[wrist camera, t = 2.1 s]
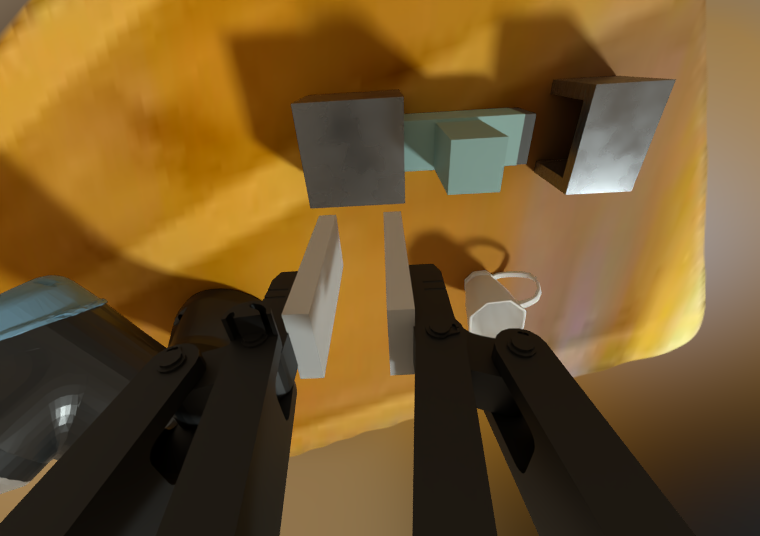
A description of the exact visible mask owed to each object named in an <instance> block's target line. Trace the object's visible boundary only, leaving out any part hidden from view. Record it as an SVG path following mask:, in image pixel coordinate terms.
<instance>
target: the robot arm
mask: <svg viewBox="0 0 760 536" xmlns="http://www.w3.org/2000/svg"><path fill="white" fill-rule="evenodd" d="M384 238H385V267H386V296H387V319H388V337H389V355H390V373H391V375H407V374H414V372H415V409H414V475H413V536H497V531H496V525H495V518H494V512H493V506H492V500H491V494H490V487H489V481H488V475H487V469H486V463H485V457H484V451H483V444H482V438H481V433H480V426H479V420H478V413H477V408H478V409H482V410H484V412H485V415H486V417H487V419H488V421H489V424H490V426H491V428H492V430H493V433H494V435H495V437H496V439H497V442H498V444H499V446H500V448H501V451H502V453H503V455H504V457H505V460H506V462H507V464H508V466H509V469H510V471H511V473H512V475H513V477H514V480H515V482H516V484H517V486H518V489H519V491H520V493H521V495H522V498H523V500H524V502H525V505H526V507H527V509H528V511H529V513H530V516H531V518H532V520H533V523H534V525H535V527H536V529H537V532H538V534H539V536H696V535H695V534H694V533H693V532H692V530H691V529H690V528H689V527H688V525H687V524H686V523H685V521H684V520H683V519H682V517H681V516H680V515H679V513H678V512H677V511H676V510H675V508H674V507H673V506H672V504H671V503H670V502H669V501H668V499H667V498H666V497H665V496H664V494H663V493H662V492H661V490H660V489H659V488H658V486H657V485H656V484H655V483H654V481H653V480H652V479H651V478H650V476H649V475H648V474H647V472H646V471H645V470H644V469H643V467H642V466H641V465H640V463H639V462H638V461H637V459H636V458H635V457H634V456H633V454H632V453H631V452H630V451H629V449H628V448H627V446H626V445H625V444H624V443H623V441H622V440H621V439H620V437H619V436H618V435H617V434H616V432H615V431H614V430H613V428H612V427H611V426H610V425H609V423H608V422H607V421H606V419H605V418H604V417H603V416H602V414H601V413H600V412H599V410H598V409H597V408H596V407H595V406H594V404H593V403H592V402H591V400H590V399H589V398H588V396H587V395H586V394H585V392H584V391H583V390H582V389H581V387H580V386H579V385H578V383H577V382H576V381H575V380H574V378H573V377H572V376H571V374H570V373H569V372H568V371H567V369H566V368H565V367H564V365H563V364H562V363H561V361H560V360H559V359H558V358H557V356H556V355H555V354H554V352H553V351H552V350H551V349H550V347H549V346H548V345H547V343H546V342H545V341H544V340H542V339H541V338H540V337H539V336H538V335H536V334H534V333H532V332H530V331H527V330H524V329H520V328H509V329H505V330H502V331H501V332H499V333H498V334H497V335H496V338H491V337H486V336H481V335H477V334H474V333H471V332H469V331H467V330H465V329H464V328H463V327H462V325H461V324H460V323H459V322H458V321H457V320H456V319H455V317H454V314H453V311H452V307H451V304H450V300H449V297H448V294H447V290H446V287H445V284H444V280H443V277H442V273H441V271H440V270H439V269H438V268H437V267H436V266H435V265H434V264H420V265H408V258H407V251H406V244H405V238H404V231H403V224H402V217H401V211H400V212H384ZM342 271H343V260H342V253H341V246H340V239H339V232H338V225H337V218H336V215H325V216H319V218H318V220H317V223H316V226H315V228H314V231H313V233H312V236H311V239H310V241H309V244H308V247H307V249H306V252H305V254H304V257H303V260H302V262H301V265H300V268H299V270H298V271H295V272H281V273H280V274H279V275H278V276H277V277H276V278H275V279H273V280H272V282H271V284H270V287H269V289H268V291H267V293H266V295H265V299H263V301H260V300H259V299H257V298H255V297H253V296H251V295H248V294H246V293H243V292H239V291H235V290H229V289H211V290H206V291H202V292H200V293H197V294H195V295H194V296H192V297H191V298H190V299H188V301H187V302H186V303H185V304H184V305H183V307H182V308H181V309H180V311H179V312H178V314H177V316H176V318H175V321H174V326H173V329H172V332H171V336H170V340H169V344H168V348H166V347H164V346H163V345H161V344H160V343H159V342H157V341H156V340H155V339H153V338H152V337H150V336H149V335H148V334H146V333H145V332H144V331H142V330H141V329H140V328H138V327H137V326H136V325H134V324H133V323H132V322H130V321H129V320H128V319H126V318H125V317H124V316H122V315H121V314H120V313H118V312H117V311H116V310H114V309H113V308H112V307H110V306H109V305H108V304H106V303H107V302H108V301H106V300H105V299H100V298H98V297H97V296H95V295H94V294H92V293H91V292H89V291H88V290H86V289H85V288H83V287H82V286H80V285H79V284H77V283H76V282H74V281H72V280H71V279H69V278H66V277H62V276H55V275H50V276H43V277H39V278H35V279H33V280H30V281H28V282H26V283H23V284H21V285H19V286H17V287H14V288H12V289H10V290H8V291H6V292H3V293H1V294H0V494H2V493H4V492H8V491H10V490H14V489H17V488H20V487H23V486H25V485H27V484H28V483H29V482H30V481H31V480H32V479H33V478H34V477H35V476H36V475H37V474H38V473H39V472H40V471H41V470H42V469H43V468H44V467H45V466H46V465H47V464H48V463H49V462H50V461H51V460H52V459H56V460H58V461H57V462H56V463H55V464H54V466H52V468H51V469H50V470H49V471H48V472H47V473H46V474H45V475H44V476H43V477H42V479H41V480H40V481H39V482H38V483H37V484H36V485H35V486H34V487H33V488H32V489H31V491H30V492H29V493H28V494H27V495H26V496H25V497H24V498H23V499H22V500H21V502H19V503H18V505H17V506H16V507H15V508H14V509H13V510H12V511H11V512H10V513H9V514H8V515H7V517H6V518H5V519H4V520H3V521H2V522H1V523H0V536H279V535H280V527H281V519H282V511H283V502H284V494H285V486H286V478H287V469H288V461H289V453H290V445H291V437H292V429H293V421H294V413H295V405H296V396H297V389H296V384H295V381H294V380H295V376H296V372H297V368H298V371H299V374H300V378H301V379H305V378H324V376H325V370H326V364H327V359H328V353H329V347H330V341H331V335H332V329H333V323H334V318H335V312H336V306H337V300H338V294H339V288H340V282H341V277H342Z"/></svg>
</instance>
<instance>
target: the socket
mask: <svg viewBox="0 0 760 536" xmlns="http://www.w3.org/2000/svg"><path fill="white" fill-rule="evenodd" d="M675 80H676V79H660V78H644V77H629V76H605V77H589V78H573V79H558V80H553V85H552V90H551V94H554V95H559V96H564V97H569V98H575V99H580V100H584V101H583V105H582V108H581V112H580V116H579V120H578V123H577V127H576V131H575V134H574V138H573V142H572V146H571V149H570V153H569V157H568V159H561V160H543V161H536V164H535V169H534V172H535V173H536V174H538V175H539V176H540V177H542V178H543V179H545V180H546V181H547V182H549V183H550V184H552V185H553V186H554V187H556V188H557V189H559V190H560V191H561V192H563V193H564V194H566V195H568V194H587V193H605V192H624V191H632V188H633V186H634V183H635V181H636V178H637V176H638V173H639V171H640V168H641V166H642V163H643V161H644V158H645V156H646V153H647V151H648V148H649V146H650V143H651V141H652V138H653V135H654V133H655V130H656V128H657V125H658V123H659V120H660V118H661V115H662V113H663V110H664V108H665V105H666V103H667V100H668V98H669V95H670V93H671V90H672V88H673V85H674V83H675Z"/></svg>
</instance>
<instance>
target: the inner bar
mask: <svg viewBox="0 0 760 536" xmlns="http://www.w3.org/2000/svg"><path fill="white" fill-rule="evenodd" d="M535 119H536V113H533V112H530V111H527V110H524V109H521V108H494V109H478V110H461V111H445V112H429V113H413V114H404V168H405V171H421V170H435V171H436V173H437V175H438V177H439V179H440V181H441V183H442V185H443V187H444V188H445V190H446V192H447V194H448V195H452V194H471V193H489V192H500V189H501V182H502V176H503V170H504V166H510V165H516V164H527V159H528V154H529V149H530V144H531V139H532V134H533V129H534V124H535Z"/></svg>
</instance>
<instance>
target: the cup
mask: <svg viewBox="0 0 760 536" xmlns="http://www.w3.org/2000/svg"><path fill="white" fill-rule="evenodd" d="M504 277H524V278H530V279H531V280H533V281H535V282H536V285H537V290H536V293H535V295H534V296H533V297H531V298H529V299H525V300H521V301H517V300H516V299H515V298H514V297H513V295H512V294H511V293H510V292H509V291H508V290H507V289H506V288H505V287H504V286H503V285H502V284H501V283H499V282H498V281H497V280H496V279H498V278H504ZM464 290H465V291H466V303H465V306H466V313H467V321H468V329H469V332H471V333H474V334H477V335H481V336H486V337H491V338H496V335H497V334H498V333H499V332H501V331H502V330H505V329H509V328H520V329H523V328H524V324H525V317H526V310H525V309H524V308H526V307H529V306H531V305H533V304H535V303H536V302H537V301H538V300H539V298H540V296H541V294H542V293H541V288H540V284H539V282H538V280H537V278H536V276H534V275H532V274H531V273H528V272H522V271H506V272H499V273H495V274H493V275H492V274H491V273H489V272H488V271H486V270H482V271H473V272H472V273H471V274H470V275H469V276H468V277H467V278H466V279H464Z"/></svg>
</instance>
